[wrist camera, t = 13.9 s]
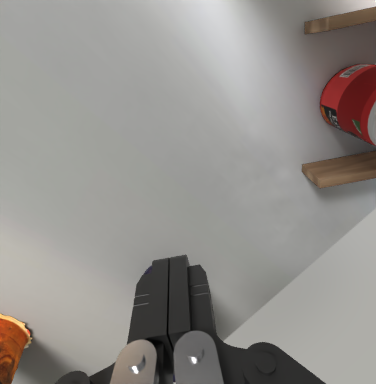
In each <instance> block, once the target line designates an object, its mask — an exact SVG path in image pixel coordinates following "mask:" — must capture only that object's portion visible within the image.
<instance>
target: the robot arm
mask: <svg viewBox="0 0 376 384" xmlns="http://www.w3.org/2000/svg"><path fill="white" fill-rule="evenodd" d="M173 375H175V383H176V384H326V383H324V382H323V381H321V380H320V379H319V378H318V377H316V376H315V375H314V374H313V373H311V372H310V371H309V370H307V369H306V368H305V367H303V366H302V365H301V364H299V363H298V362H297V361H296V360H294V359H293V358H292V357H290V356H289V355H287V354H286V353H285V352H284V351H282V350H281V349H280V348H278V347H277V346H275V345H273V344H270V343H265V342H260V343H256V344H253V345H251V346H250V347H249V348H248V349H243V348H237V347H233V346H230V345H227V344H226V343H224V342H223V341H222V340H220V338H219V337H218V336H217V333H216V326H215V320H214V313H213V307H212V300H211V294H210V290H209V285H208V280H207V276H206V272H205V271H204V270H203V268H202V267H201V266H200V265H195V266H189V262H188V258H187V255H182V256H176V257H171V258H165V259H160V260H154V261H153V262H152V271H151V273H150V274H144V275H142V277H141V279H140V280H139V282H138V284H137V286H136V292H135V298H134V307H133V311H132V317H131V323H130V329H129V336H128V342H127V345H126V346H125V347H124V348H123V349H122V350H121V352H120V353H119V355H118V357H117V359H116V362H115V363H113V364H112V365H111V366H109V367H107V368H105V369H103V370H101V371H100V372H98V373H96V374H94V375H92V376H90V377H88V376H87V374H85V373H84V372H81V371H74V372H70V373H68V374H66V375H64V376H63V377H62V378H60V379H59V380H58V381H57V382H56V383H55V384H173Z"/></svg>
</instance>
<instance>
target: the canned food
mask: <svg viewBox="0 0 376 384" xmlns="http://www.w3.org/2000/svg"><path fill="white" fill-rule="evenodd" d="M320 110H321V113H322V116H323V118H324V119H325V120H326V122H327V123H329V124H330V125H332V126H334V127H336V128H338V129H340V130H342V131H344V132H347V133H349V134H351V135H353V136H355V137H357V138H359V139H361V140H364V141H366V142H368V143H370V144H372V145H375V146H376V65H372V64H357V65H353V66H350V67H348V68H346V69H343V70H341V71H340V72H338V73H337V74H336V75H335V76H333V77H332V78H331V79H330V81H329V82H328V83H327V85H326V86H325V88H324V90H323V92H322V95H321V99H320Z"/></svg>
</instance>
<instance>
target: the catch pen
mask: <svg viewBox="0 0 376 384" xmlns="http://www.w3.org/2000/svg"><path fill="white" fill-rule="evenodd" d="M372 21H376V7H372V8H367V9H363V10H358V11H353V12H349V13H344V14H340V15H335V16H330V17H326V18H322V19H317V20H313V21H309V22H305V34H309V33H316V32H323V31H330V30H334V29H339V28H344V27H348V26H353V25H358V24H363V23H367V22H372ZM302 172H303V173H304V174H305V175H306V176H307V177H308V178H309V179H310V180H311V181H312V182H314V183H315V184H316V185H317V186H318V187H319V188H325V187H330V186H335V185H341V184H346V183H351V182H357V181H362V180H368V179H373V178H376V151H371V152H366V153H360V154H355V155H350V156H345V157H339V158H334V159H329V160H324V161H318V162H313V163H308V164H303V165H302Z"/></svg>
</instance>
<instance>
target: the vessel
mask: <svg viewBox="0 0 376 384" xmlns="http://www.w3.org/2000/svg"><path fill="white" fill-rule="evenodd" d="M24 325H25V324H24V323H23V322H20V321H18V320H16V319H15V318H13V317H11V316H4V315H2V314H0V384H11V383H12V380H13V377H14V374H15V371H16V370H17V368H18V363H19V360H20V358H21V355H22V353H23V350H24V349H25V348H28V347H29V346H28V344H30V343H31V341H30V340H32V338H31V337H30V332H29V330H28V329H26V328H25V326H24Z"/></svg>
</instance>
